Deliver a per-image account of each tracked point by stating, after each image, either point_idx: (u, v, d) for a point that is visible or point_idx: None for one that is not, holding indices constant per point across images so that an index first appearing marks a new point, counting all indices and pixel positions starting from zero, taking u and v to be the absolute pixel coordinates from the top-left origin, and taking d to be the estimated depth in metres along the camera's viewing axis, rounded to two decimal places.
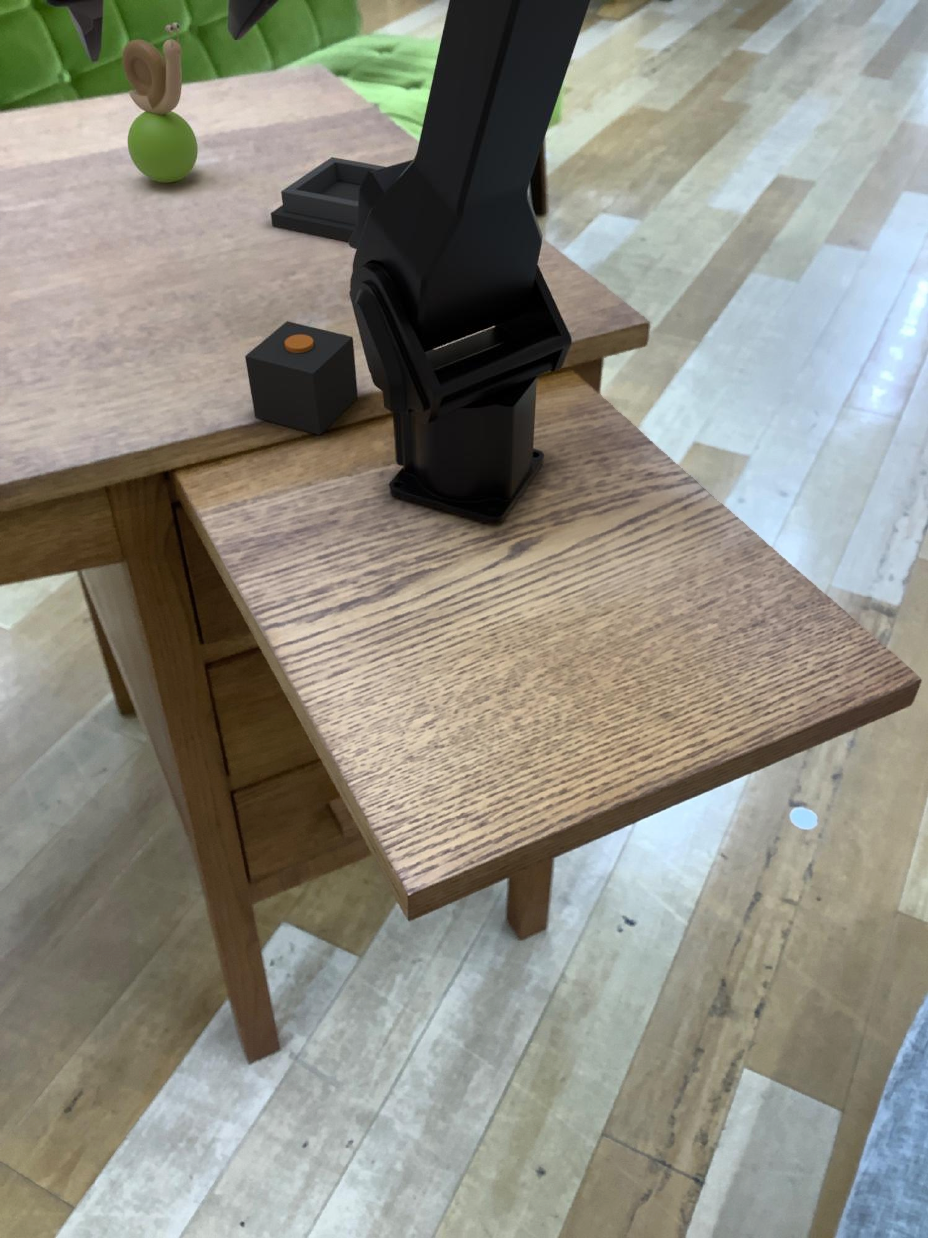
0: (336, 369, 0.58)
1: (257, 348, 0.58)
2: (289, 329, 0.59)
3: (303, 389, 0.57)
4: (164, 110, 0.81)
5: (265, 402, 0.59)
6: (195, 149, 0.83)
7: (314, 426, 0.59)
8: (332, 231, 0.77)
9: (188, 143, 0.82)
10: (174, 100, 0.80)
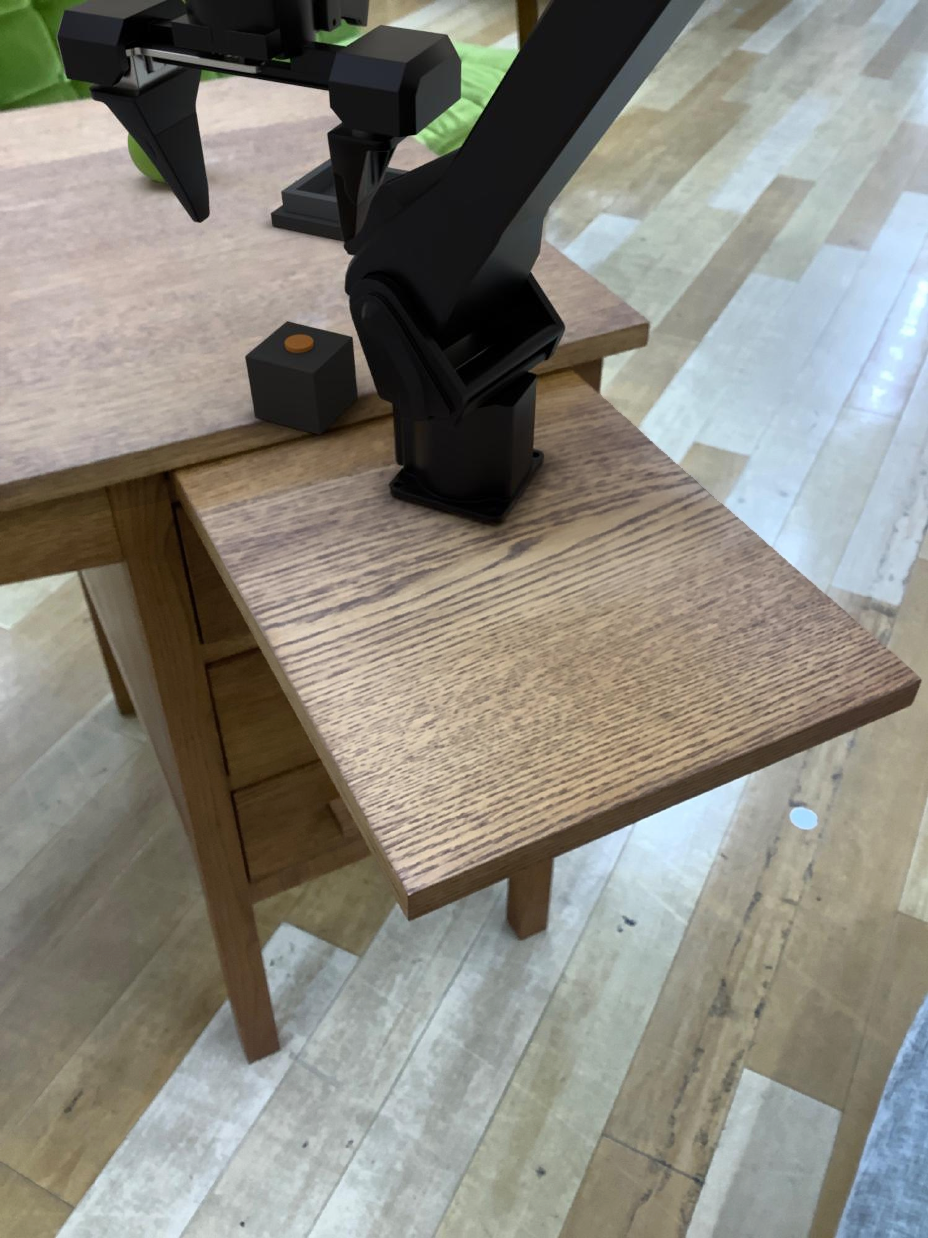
0: (336, 369, 0.58)
1: (257, 348, 0.58)
2: (289, 329, 0.59)
3: (303, 389, 0.57)
4: None
5: (265, 402, 0.59)
6: None
7: (314, 426, 0.59)
8: (332, 231, 0.77)
9: None
10: None
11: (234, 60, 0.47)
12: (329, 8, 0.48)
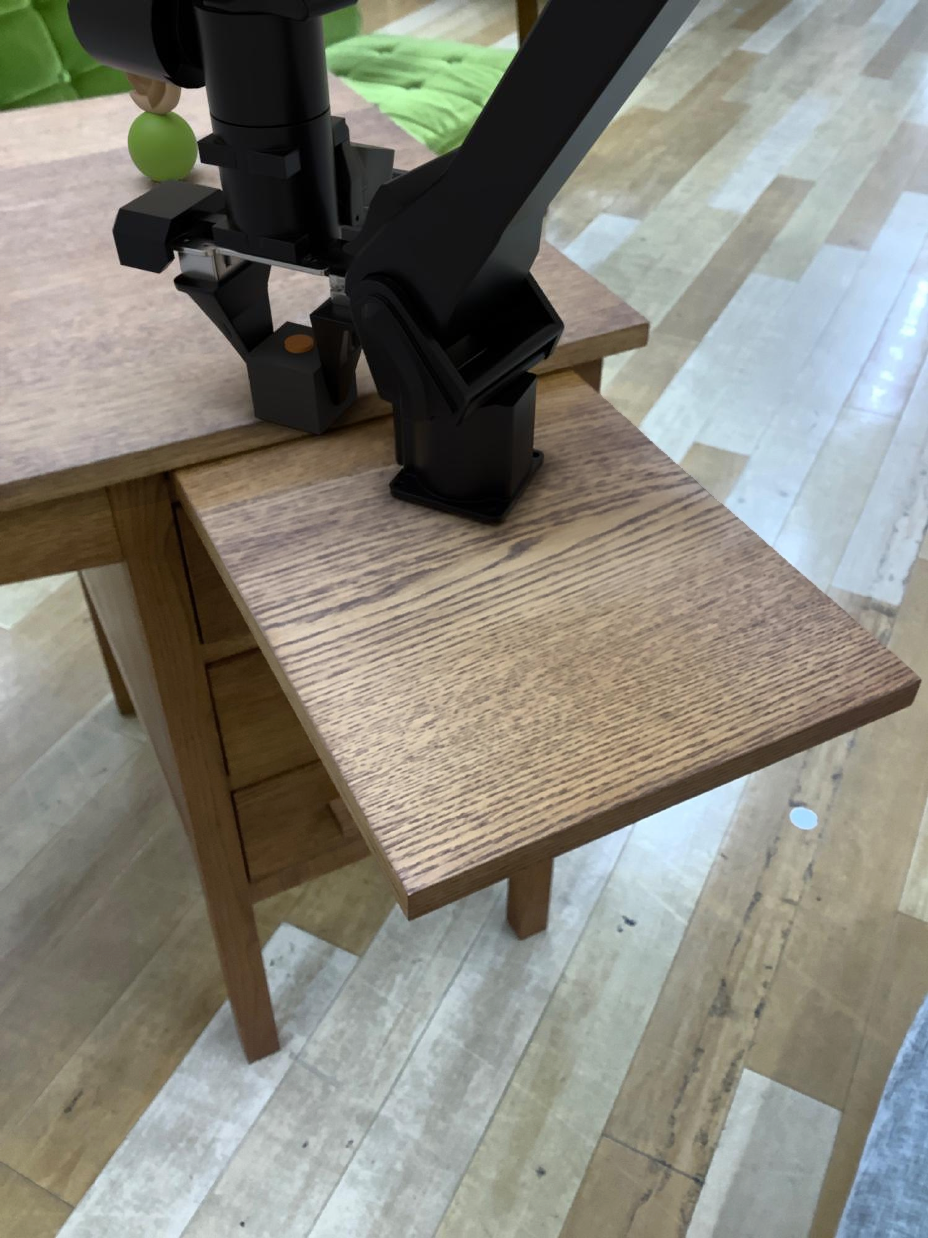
0: None
1: (257, 348, 0.58)
2: (289, 329, 0.59)
3: (303, 389, 0.57)
4: (164, 110, 0.81)
5: (265, 402, 0.59)
6: (195, 149, 0.83)
7: (314, 426, 0.59)
8: None
9: (188, 143, 0.82)
10: (174, 100, 0.80)
11: (305, 264, 0.53)
12: (353, 208, 0.53)
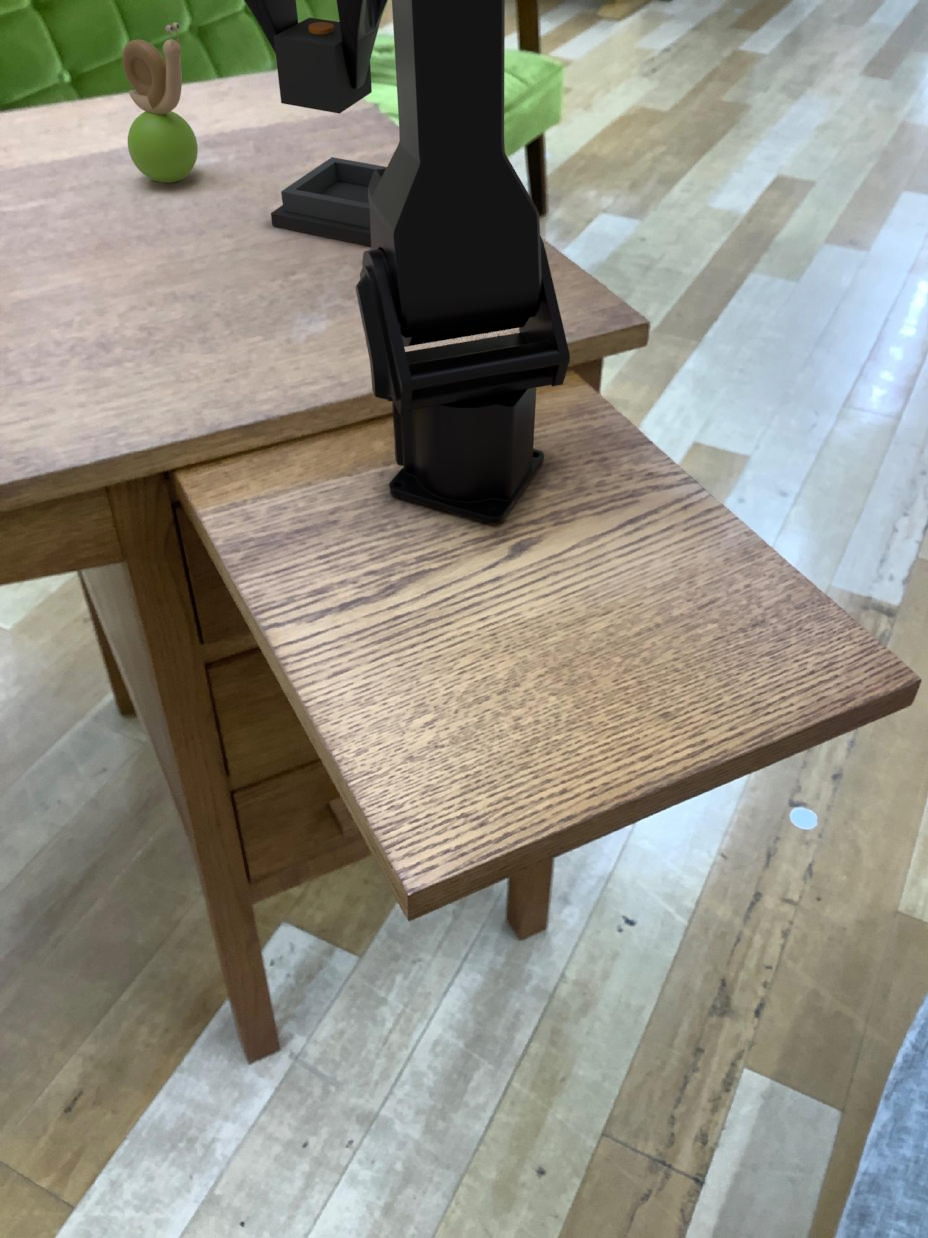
0: None
1: (284, 31, 0.66)
2: (312, 21, 0.67)
3: (325, 64, 0.65)
4: (164, 110, 0.81)
5: (290, 84, 0.67)
6: (195, 149, 0.83)
7: (334, 104, 0.66)
8: (332, 231, 0.77)
9: (189, 143, 0.82)
10: (174, 100, 0.80)
11: None
12: None
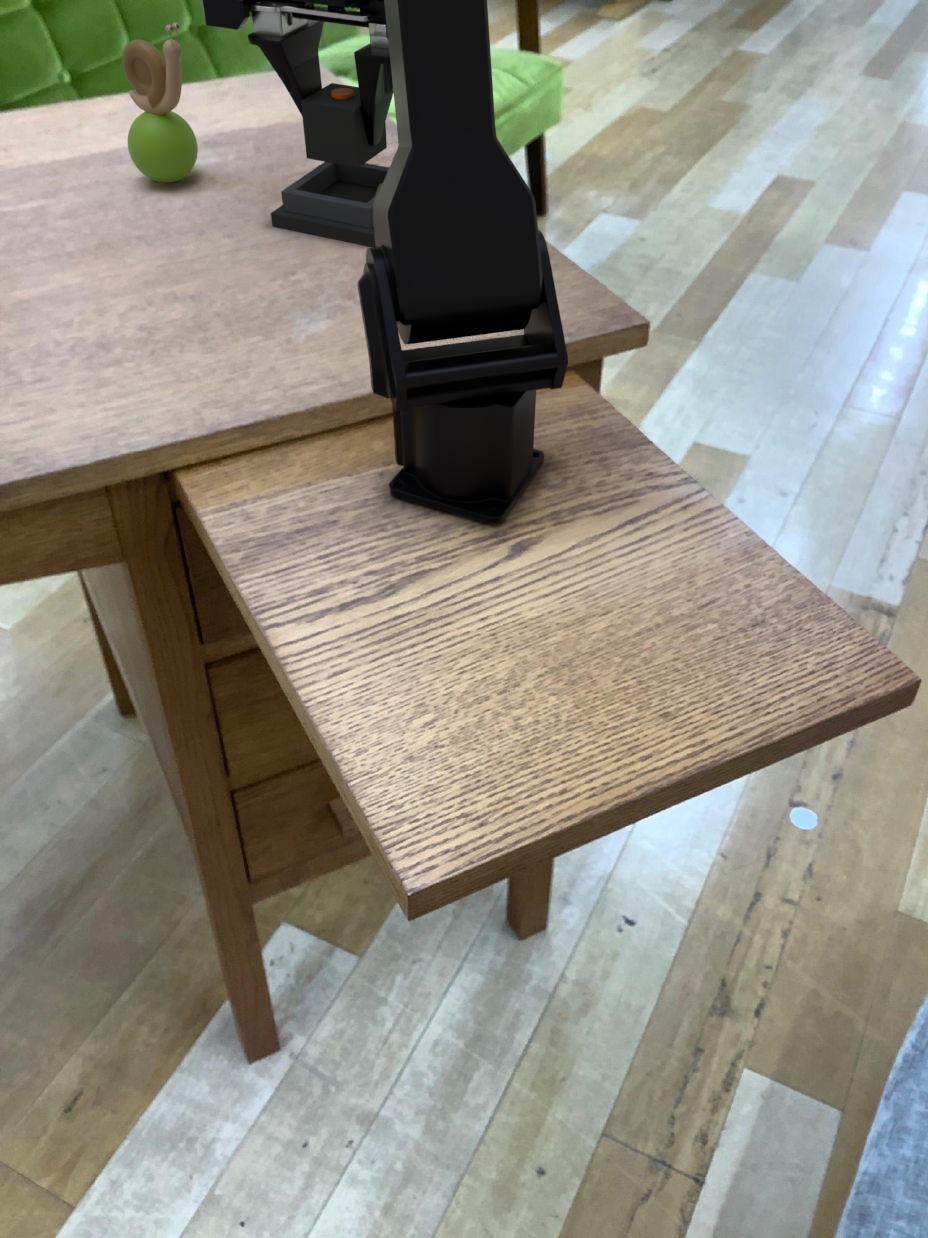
0: None
1: (310, 96, 0.74)
2: (334, 86, 0.76)
3: (346, 125, 0.73)
4: (164, 110, 0.81)
5: (315, 142, 0.75)
6: (195, 149, 0.83)
7: (354, 160, 0.75)
8: (332, 231, 0.77)
9: (189, 143, 0.82)
10: (174, 100, 0.80)
11: (350, 13, 0.69)
12: None
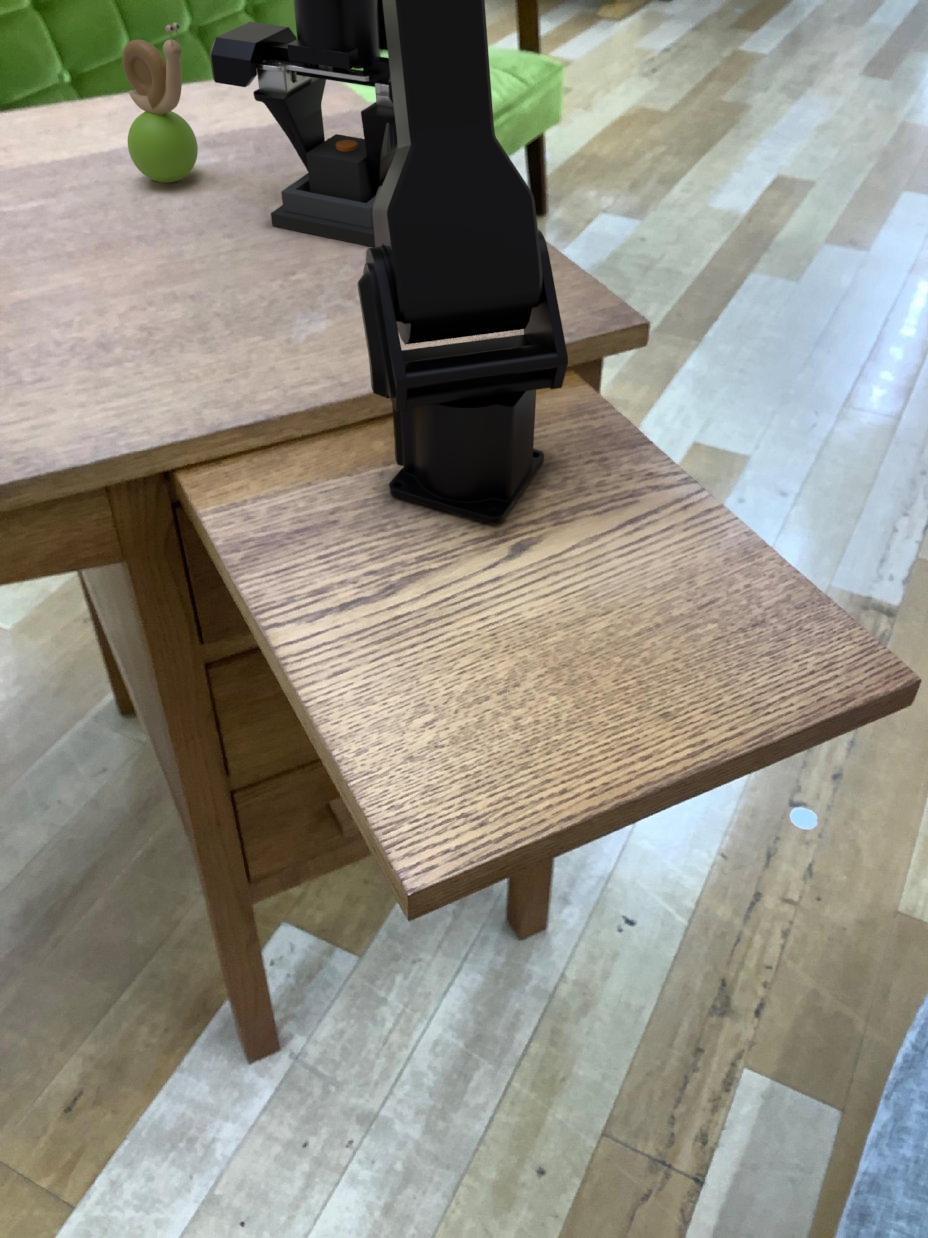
0: None
1: (315, 149, 0.77)
2: (338, 138, 0.78)
3: (350, 177, 0.76)
4: (164, 110, 0.81)
5: (320, 192, 0.78)
6: (195, 149, 0.83)
7: None
8: (332, 231, 0.77)
9: (189, 143, 0.82)
10: (174, 100, 0.80)
11: (352, 73, 0.72)
12: None
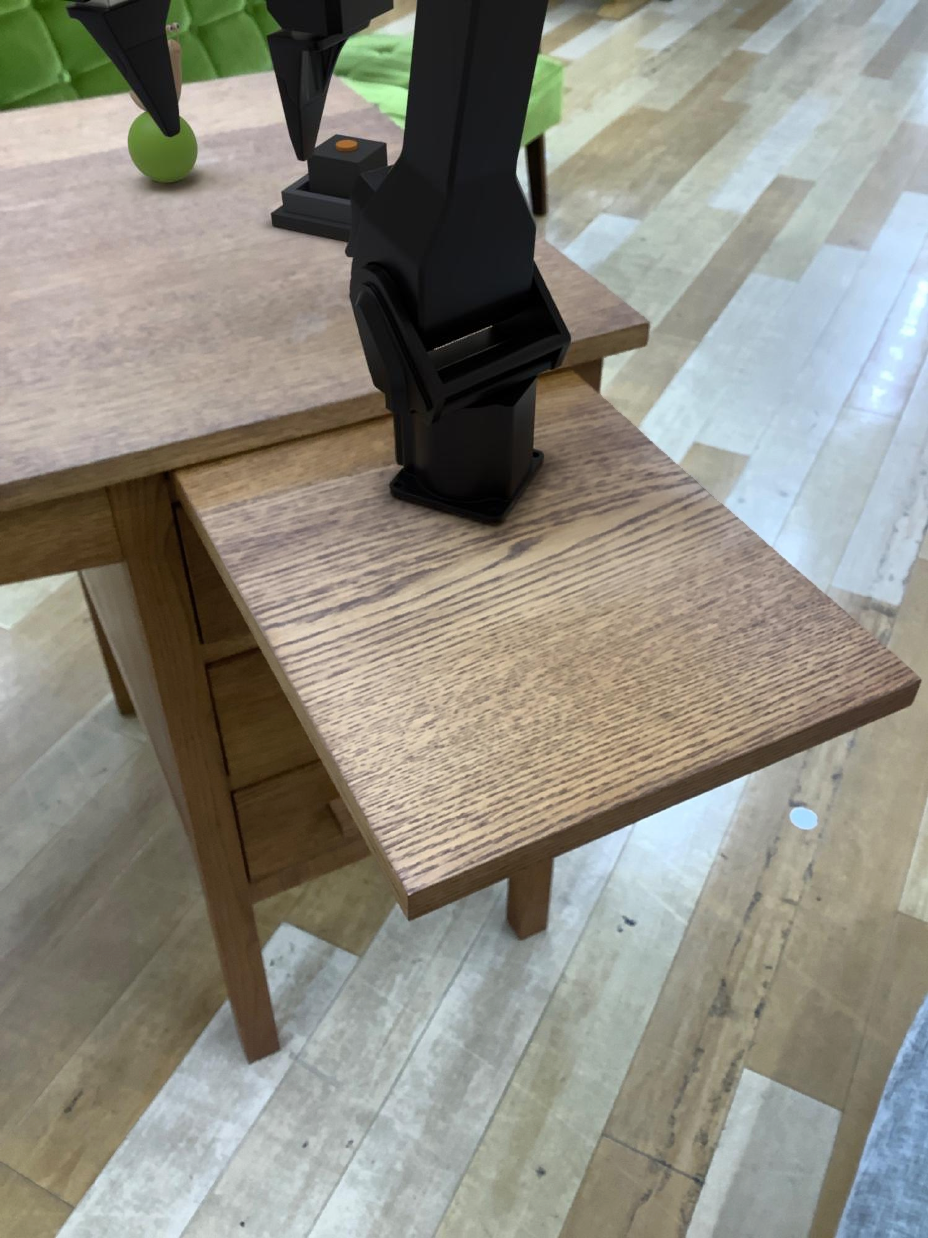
0: (374, 165, 0.77)
1: (315, 149, 0.77)
2: (338, 138, 0.78)
3: (350, 177, 0.76)
4: None
5: (320, 192, 0.78)
6: (195, 149, 0.83)
7: None
8: (332, 231, 0.77)
9: (189, 143, 0.82)
10: None
11: None
12: None
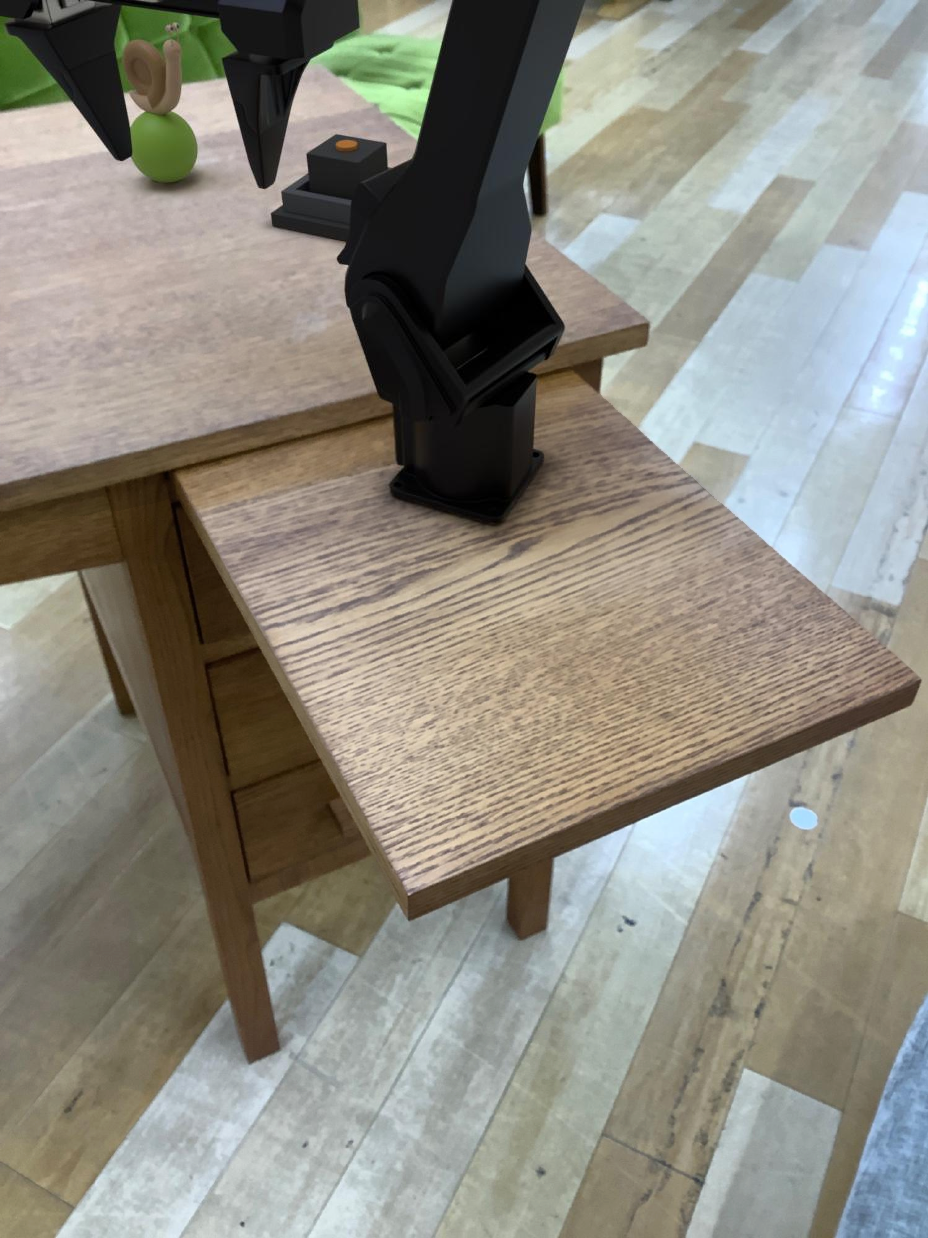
0: (374, 165, 0.77)
1: (315, 149, 0.77)
2: (338, 138, 0.78)
3: (350, 177, 0.76)
4: (164, 110, 0.81)
5: (320, 192, 0.78)
6: (195, 149, 0.83)
7: None
8: (332, 231, 0.77)
9: (189, 143, 0.82)
10: (174, 100, 0.80)
11: None
12: None
